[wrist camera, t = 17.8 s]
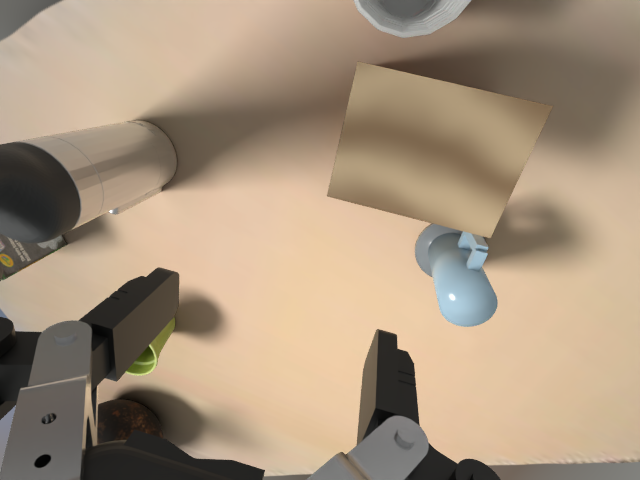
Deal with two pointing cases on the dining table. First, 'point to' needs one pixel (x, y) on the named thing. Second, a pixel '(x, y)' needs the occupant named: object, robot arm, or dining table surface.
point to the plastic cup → (410, 15)
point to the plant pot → (151, 352)
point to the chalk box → (24, 253)
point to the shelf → (433, 148)
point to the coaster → (425, 241)
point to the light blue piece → (462, 278)
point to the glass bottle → (124, 420)
